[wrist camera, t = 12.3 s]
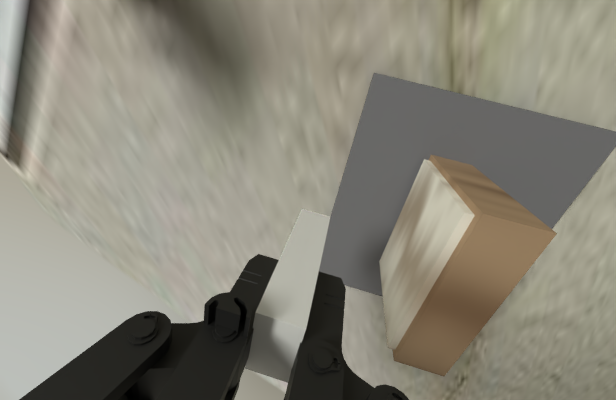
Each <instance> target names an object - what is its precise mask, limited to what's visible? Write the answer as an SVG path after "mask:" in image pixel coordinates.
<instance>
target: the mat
mask: <svg viewBox="0 0 616 400" xmlns="http://www.w3.org/2000/svg"><path fill="white" fill-rule="evenodd" d="M615 147H616V132H615V131H611V130H607V129H602V128H598V127H594V126H590V125H586V124H582V123H578V122H574V121H570V120H566V119H562V118H557V117H553V116H549V115H545V114H541V113H537V112H533V111H529V110H525V109H521V108H516V107H512V106H508V105H504V104H500V103H496V102H492V101H488V100H484V99H480V98H476V97H471V96H467V95H463V94H459V93H455V92H451V91H447V90H443V89H439V88H435V87H431V86H426V85H422V84H418V83H414V82H410V81H406V80H402V79H398V78H394V77H390V76H386V75H381V74H377V73H374V74H373V78H372V81H371V84H370V88H369V91H368V94H367V98H366V101H365V104H364V108H363V111H362V114H361V118H360V121H359V124H358V128H357V131H356V134H355V137H354V141H353V144H352V147H351V151H350V154H349V157H348V161H347V164H346V167H345V171H344V174H343V177H342V181H341V184H340V187H339V191H338V194H337V197H336V201H335V204H334V207H333V211H332V214H331V217H330V221H329V226H328V231H327V235H326V240H325V244H324V249H323V254H322V258H321V263H320V268H319V272H323V273H326V274H329V275H333V276H336V277H339V278H341V279H342V281H343V284H344V285H346V286H350V287H353V288H356V289H359V290H363V291H366V292H369V293H373V294H376V295H379V296H383V294H382V284H381V274H380V263H379V261H380V259H381V256H382V254H383V252H384V250H385V247H386V245H387V243H388V241H389V238H390V236H391V234H392V231H393V229H394V227H395V225H396V222H397V220H398V218H399V215H400V213H401V211H402V209H403V206H404V204H405V202H406V199H407V197H408V195H409V193H410V190H411V188H412V186H413V183H414V181H415V179H416V177H417V174H418V172H419V170H420V167H421V165H422V163H423V161H424V159H426V160H429V158H430V156H431V155H435V156H439V157H443V158H446V159H450V160H454V161H458V162H462V163H466V164H470V165H473V166H474V167H475V168H476V169H478V170H479V171H480V172H481V173H483V174H484V175H485V176H486V177H487V178H489V179H490V180H491V181H492V182H494V183H495V184H496V185H497V186H499V187H500V188H501V189H502V190H504V191H505V192H506V193H507V194H509V195H510V196H511V197H512V198H513V199H515V200H516V201H517V202H518V203H520V204H521V205H522V206H523V207H525V208H526V209H527V210H528V211H530V212H531V213H532V214H533V215H535V216H536V217H537V218H538V219H539V220H541V221H542V222H543V223H544V224H546V225H547V226H548V227H549V228H551V229H552V228H553V227H554V225H555V224H556V223H557V221H558V220H559V219H560V218H561V216H562V215H563V214H564V212H565V211H566V210H567V209H568V207H569V206H570V205H571V203H572V202H573V201H574V199H575V198H576V197H577V196H578V194H579V193H580V192H581V190H582V189H583V188H584V187H585V185H586V184H587V183H588V181H589V180H590V179H591V178H592V176H593V175H594V174H595V172H596V171H597V170H598V168H599V167H600V166H601V165H602V163H603V162H604V161H605V159H606V158H607V157H608V156H609V154H610V153H611V152H612V150H613V149H614V148H615Z"/></svg>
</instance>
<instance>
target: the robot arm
mask: <svg viewBox="0 0 616 400" xmlns="http://www.w3.org/2000/svg"><path fill="white" fill-rule="evenodd" d="M329 221H330V216H326V215H323V214H319V213H316V212H312V211H309V210H305V209H301V212H300V214H299V216H298V218H297V220H296V223H295V225H294V227H293V229H292V232H291V234H290V236H289V238H288V241H287V243H286V245H285V247H284V250H283V252H282V254H281V256H280V259H279V260H277V259H273V258H270V257H266V256H263V255H260V254H258V255H257V256H255V257H254V258H252V259H251V260H249V262H248V263H247V265H246V266H245V268H244V270H243V271H242V273H241V275H240V276H239V279H238V280H237V281H236V283H235V285H234V286H233V288H232V290H231V291H230V292H228V293H221V294H218V295H216V296H214V297H212V298H211V299H210V300H209V301H208V302H207V303H206V304H205V311H204V321H201V322H198V323H186V324H185V323H184V324H182V323H180V324H179V323H175V324H174V323H171V321H170V319H169V318H168V317H167V316H166V315H165V314H163V313H160V312H157V311H154V312H153V311H150V312H149V311H148V312H143V313H140V314H136V315H135V316H133V317H131V318H129V319H128V320H126V321H125V322H123V323H122V324H121V325H119V326H118V327H117V328H115V329H114V330H113V331H111V332H110V333H108V334H107V335H106V336H104V337H103V338H102V339H100V340H99V341H98V342H96V343H95V344H94V345H92V346H91V347H90V348H88V349H87V350H86V351H84V352H83V353H82V354H80V355H79V356H77V357H76V358H75V359H73V360H72V361H71V362H70V363H68V364H67V365H65V366H64V367H63V368H61V369H60V370H59V371H57V372H56V373H55V374H53V375H52V376H51V377H49V378H48V379H46V380H45V381H44V382H43V383H41V384H40V385H38V386H37V387H36V388H34V389H33V390H32V391H30V392H29V393H28V394H26V395H25V396H24V397H22V398H21V399H20V400H234V398H235V395H236V393H237V390H238V387H239V382H240V377H241V375H242V373H243V370H244V368H246V369H249V370H252V371H255V372H258V373H261V374H264V375H267V376H270V377H273V378H276V379H279V380H282V381H285V382H288V386H287V391H286V394H285V398H284V400H409V399H408V398H407V397H406V396H405V394H404V393H402V392H401V391H399V390H398V389H396V388H395V387H392V386H389V385H380V386H376V387H375V388H374V387H372V386H371V385H369V384H368V383H366V382H365V381H364V380H362V379H361V378H359V377H358V376H357V375H356V374H355V373H353V372H352V370H351V369H350V368H349V367H348V365H347V364H346V362H345V360H344V357H343V354H342V346H341V345H342V331H343V317H344V303H345V302H344V301H345V290H346V289H345V286H344V284H343V281H342V279H341V278H339V277H336V276H333V275H329V274H326V273H323V272H319V268H320V263H321V258H322V254H323V249H324V244H325V240H326V235H327V231H328V226H329ZM245 365H246V367H245Z"/></svg>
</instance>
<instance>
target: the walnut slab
mask: <svg viewBox="0 0 616 400" xmlns="http://www.w3.org/2000/svg"><path fill="white" fill-rule="evenodd" d="M556 234H557V233H556V232H554V231H553V230H552V229H551V228H549V227H548V226H547V225H546V224H544V223H543V222H542V221H541V220H539V219H538V218H537V217H536V216H535V215H533V214H532V213H531V212H530V211H528V210H527V209H526V208H525V207H523V206H522V205H521V204H520V203H518V202H517V201H516V200H515V199H513V198H512V197H511V196H510V195H509V194H507V193H506V192H505V191H504V190H502V189H501V188H500V187H499V186H497V185H496V184H495V183H494V182H492V181H491V180H490V179H489V178H487V177H486V176H485V175H484V174H483V173H481V172H480V171H479V170H478V169H476V168H475V167H474V166H473V165H470V164H466V163H462V162H458V161H454V160H450V159H446V158H443V157H439V156H435V155H431V156H430V158H429V160H426V159H424V161H423V163H422V165H421V167H420V170H419V172H418V174H417V177H416V179H415V181H414V183H413V186H412V188H411V190H410V193H409V195H408V197H407V199H406V202H405V204H404V206H403V209H402V211H401V213H400V215H399V218H398V220H397V222H396V225H395V227H394V229H393V231H392V234H391V236H390V238H389V241H388V243H387V245H386V247H385V250H384V252H383V254H382V256H381V259H380V261H379V263H380V274H381V284H382V294H383V305H384V315H385V325H386V335H387V346H388V348H391V349H393V357H394V361H397V362H400V363H403V364H406V365H409V366H413V367H416V368H419V369H422V370H425V371H428V372H432V373H435V374H438V375H441V376H445V375H446V373H447V372H448V371H449V370H450V368H451V367H452V366H453V365H454V363H455V362H456V361H457V359H458V358H459V357H460V356H461V354H462V353H463V352H464V351H465V349H466V348H467V347H468V346H469V344H470V343H471V342H472V340H473V339H474V338H475V337H476V335H477V334H478V333H479V332H480V330H481V329H482V328H483V327H484V325H485V324H486V323H487V321H488V320H489V319H490V318H491V316H492V315H493V314H494V313H495V311H496V310H497V309H498V307H499V306H500V305H501V304H502V302H503V301H504V300H505V299H506V297H507V296H508V295H509V294H510V292H511V291H512V290H513V288H514V287H515V286H516V285H517V283H518V282H519V281H520V280H521V278H522V277H523V276H524V275H525V273H526V272H527V271H528V269H529V268H530V267H531V266H532V264H533V263H534V262H535V261H536V259H537V258H538V257H539V256H540V254H541V253H542V252H543V250H544V249H545V248H546V247H547V245H548V244H549V243H550V242H551V240H552V239H553V238H554V237H555V235H556Z"/></svg>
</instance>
